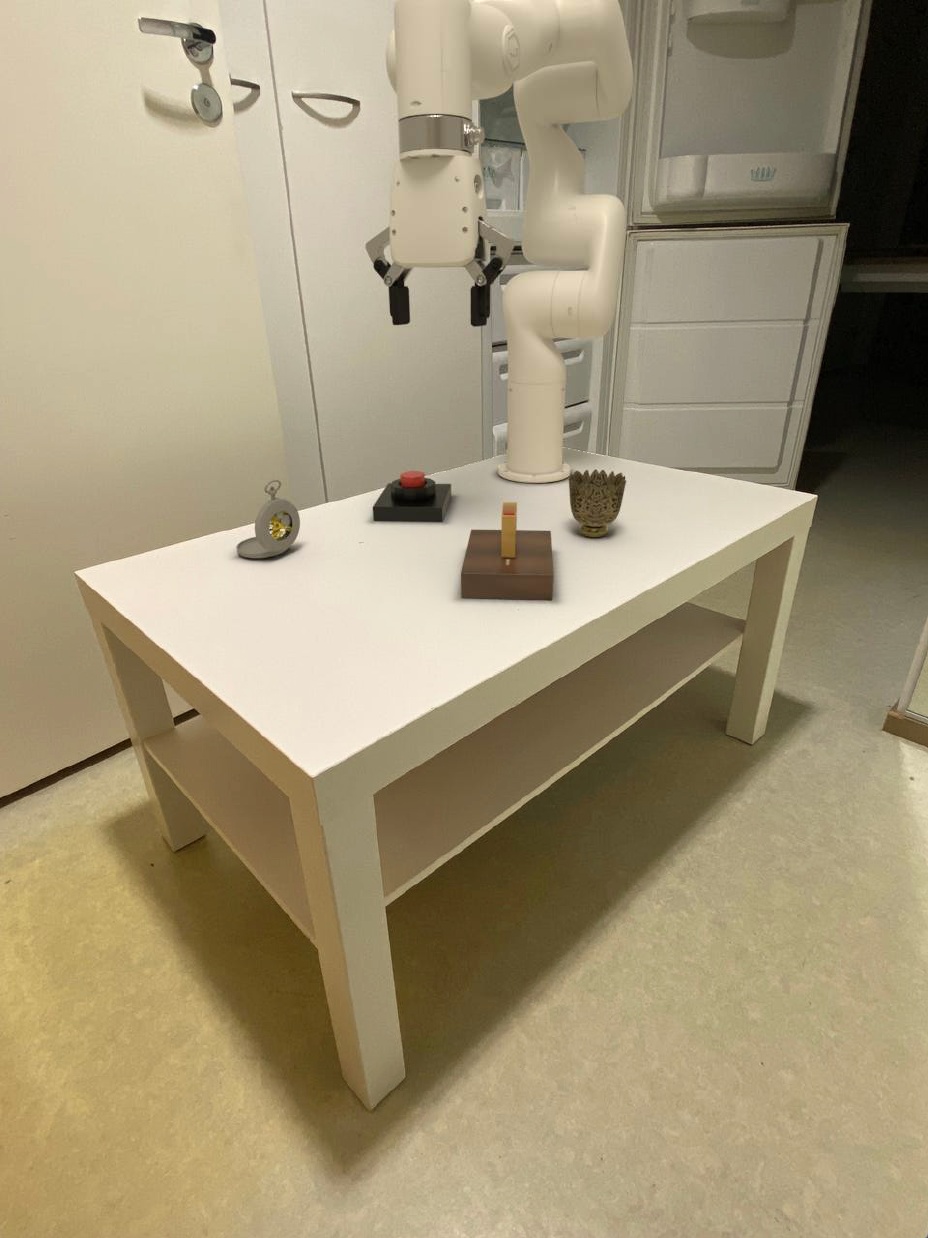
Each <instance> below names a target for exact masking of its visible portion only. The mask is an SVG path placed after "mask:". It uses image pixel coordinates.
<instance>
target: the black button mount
mask: <svg viewBox="0 0 928 1238" xmlns="http://www.w3.org/2000/svg"><path fill="white" fill-rule="evenodd" d="M451 499H452V484H451V483H436V481H435V480H433V479H432V478H430V477H429V478H428V477H425V485H423V486H419V487H404V486H401V478H400V477H399V478H398V479H394V480H393V481H391V482H389V483H387V484H386V486H385V487H384V489H383V490H382V492H381V493H380V495H379V497H378V498H377V500H376V501H375V503H374V504H373V506H372V516H373V518H372V519H373V522H388V523H389V522H391V523H392V522H393V523H394V522H396V523H399V522H401V523H407V522H408V523H443V522H444V519H445V516H446V513H447V510H448V508H449V505H450V502H451Z"/></svg>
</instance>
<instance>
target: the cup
mask: <svg viewBox="0 0 928 1238" xmlns="http://www.w3.org/2000/svg"><path fill="white" fill-rule="evenodd" d="M568 477H569V478H568V491H569V503H570V510H571V511H570V512H571V514H572V516H573V518H574V520H575V521H576V522H578V523H579V524H580V527H579V530H580V533H581V534H582V535H583V536H585V537H588V538H602V537H604V536H606V534H607V532H608V530H609V527H608V525H610V524H612V523H614V521H615V520H616V519H617V517H618V516H619V514H620V511H621V507H622V503H623V498H624V495H625V490H626V489H625V488H626V485H627V479H626V475H624V474H623V472H618V473H616V474H615V473H614V470H612V471H610V473H609V475H608V473H606V471H605V469H601V471H599V470H598V469H594V470H592V472H591V473H590V472H589V470H588V469H586V470H584V472H583V474H582V472H580V471H579V470H575V471H574V472H573V473H572V472H571V473H570V475H569V476H568Z"/></svg>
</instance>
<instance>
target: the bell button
mask: <svg viewBox="0 0 928 1238" xmlns="http://www.w3.org/2000/svg"><path fill="white" fill-rule="evenodd" d="M400 478H401V486H404V487H419V486H423V485H425V478H426V473H425V472H423V471H419V470H408V471H404V472H401V473H400V477H399V479H400Z"/></svg>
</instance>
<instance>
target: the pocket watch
mask: <svg viewBox="0 0 928 1238" xmlns="http://www.w3.org/2000/svg"><path fill="white" fill-rule="evenodd" d="M273 483H278V486H277V488H275V486H270V484H273ZM269 486H270V487H269ZM268 487H269V490H267V489H268ZM281 487H282V482H281V480H280V479H273V480H271V481H269V482H267V483H266V484H265V486H264V489H263V490H264V492H265V493H266V494H268V495H269V496H270V498H271V499H269V500H268V501H266V502H265V503H264V504H263V505H262V506H261V507H260V509H259V510H258V512H257V514H256V517H255V521H254V533H255V536H253V537H249V538H246V539H244V540H241V541H240V542H239V543H237V544H236V546H235V547H236V548H235V549H236V552H237V554H239V555H240V556H242V557H244V558H247V559H249V558H250V559H266V558H271V557H275V556H279V555H282V554H283V553H285V552H286V551H288V549H289V548H290V547H291V546H292V545H293V544H294V542H295V541H296V540H297V537H298V535H299V532H300V528H301V518H300V513H299V511H298V509H297V507H296V506H295V505H294V503H292V502H291V501H290V500H288V499H286V498H282V497H281V498H280V497H276V495H277V493H278V491H279V490H280V489H281ZM283 530H284V531H283Z"/></svg>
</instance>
